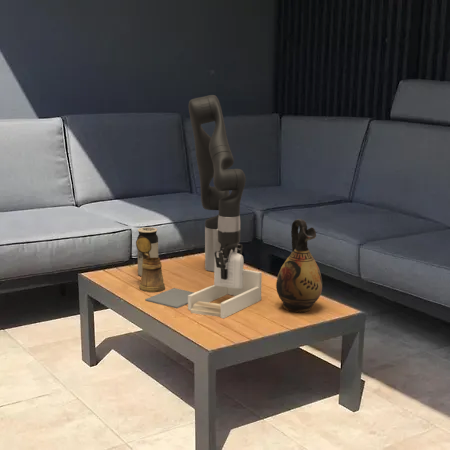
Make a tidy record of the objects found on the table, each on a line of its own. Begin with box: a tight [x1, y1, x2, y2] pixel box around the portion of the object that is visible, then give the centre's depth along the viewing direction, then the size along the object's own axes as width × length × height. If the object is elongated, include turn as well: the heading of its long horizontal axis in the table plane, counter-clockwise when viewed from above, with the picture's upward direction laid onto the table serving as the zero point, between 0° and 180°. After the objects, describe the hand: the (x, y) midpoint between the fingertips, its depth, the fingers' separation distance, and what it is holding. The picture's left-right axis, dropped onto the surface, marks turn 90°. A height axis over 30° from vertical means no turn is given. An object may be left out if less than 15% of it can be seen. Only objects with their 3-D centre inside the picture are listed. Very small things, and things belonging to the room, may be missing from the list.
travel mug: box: [136, 227, 159, 277], centre depth 277 cm, size 8×8×18 cm
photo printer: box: [213, 252, 244, 289], centre depth 243 cm, size 10×4×12 cm, turn 69°
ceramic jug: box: [275, 218, 323, 313], centre depth 239 cm, size 17×15×30 cm
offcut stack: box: [190, 301, 221, 318], centre depth 236 cm, size 5×11×3 cm, turn 69°
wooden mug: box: [135, 236, 166, 293], centre depth 261 cm, size 9×14×18 cm, turn 32°
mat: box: [144, 287, 195, 309], centre depth 250 cm, size 16×14×1 cm
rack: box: [187, 268, 263, 319], centre depth 243 cm, size 23×14×10 cm, turn 145°
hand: (228, 276), depth 243 cm, fingers closed on photo printer, 5 cm apart
